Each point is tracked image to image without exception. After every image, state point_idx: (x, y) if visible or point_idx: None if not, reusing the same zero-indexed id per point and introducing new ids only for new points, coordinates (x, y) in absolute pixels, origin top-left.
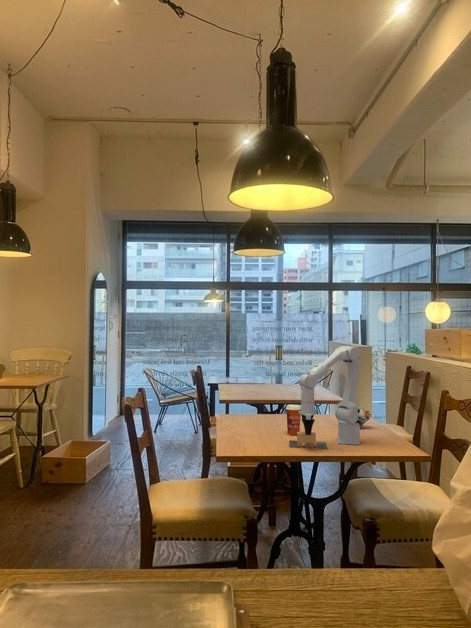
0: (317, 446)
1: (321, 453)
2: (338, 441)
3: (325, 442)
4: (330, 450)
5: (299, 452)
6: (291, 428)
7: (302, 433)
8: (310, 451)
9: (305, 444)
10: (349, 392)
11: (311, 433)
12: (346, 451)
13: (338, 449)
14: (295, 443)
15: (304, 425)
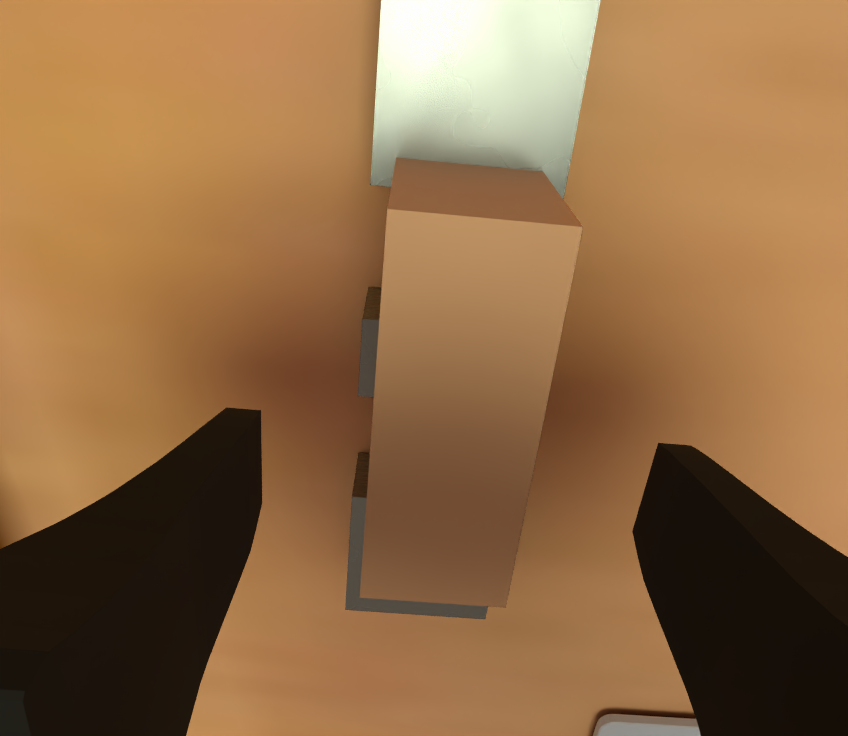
0: (355, 475)
1: (102, 472)
2: (666, 730)
3: (449, 611)
4: (285, 590)
5: (55, 149)
6: None
7: (394, 349)
8: (171, 340)
9: (364, 311)
10: None
11: (416, 534)
12: (272, 725)
13: (348, 672)
14: (376, 117)
15: (33, 545)
